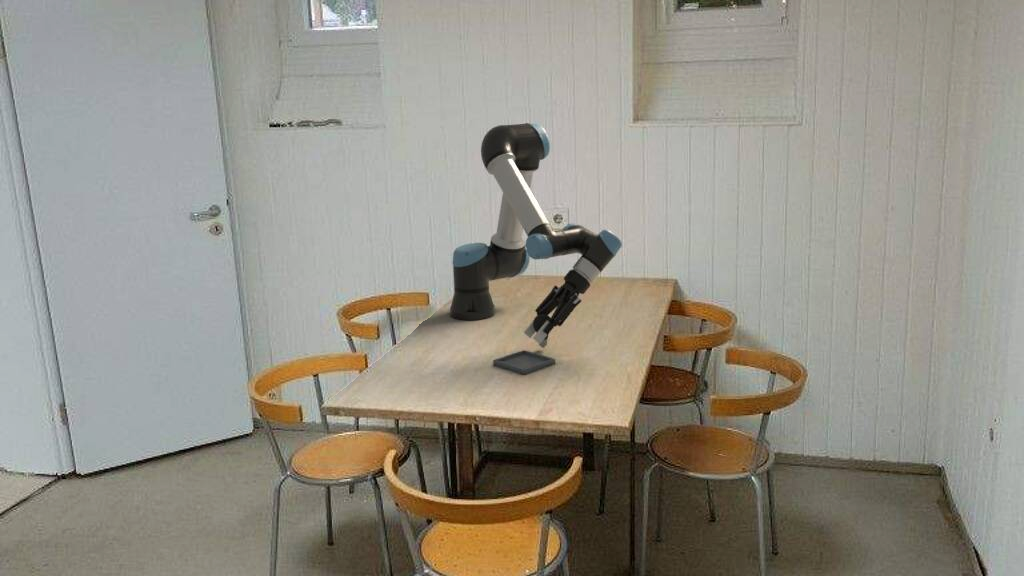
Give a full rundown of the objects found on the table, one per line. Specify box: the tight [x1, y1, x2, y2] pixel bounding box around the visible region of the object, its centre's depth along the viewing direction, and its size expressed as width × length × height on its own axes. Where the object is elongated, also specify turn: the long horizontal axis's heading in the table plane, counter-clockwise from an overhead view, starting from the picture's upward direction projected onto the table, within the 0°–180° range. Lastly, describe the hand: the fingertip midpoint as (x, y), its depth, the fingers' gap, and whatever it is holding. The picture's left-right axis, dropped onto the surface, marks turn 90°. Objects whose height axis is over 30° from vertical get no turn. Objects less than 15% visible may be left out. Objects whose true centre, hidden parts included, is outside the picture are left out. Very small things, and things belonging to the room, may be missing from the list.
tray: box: [492, 349, 556, 376], centre depth 252 cm, size 12×12×2 cm
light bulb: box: [532, 314, 551, 348], centre depth 263 cm, size 6×6×10 cm
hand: (531, 338), depth 262 cm, fingers closed on light bulb, 6 cm apart
